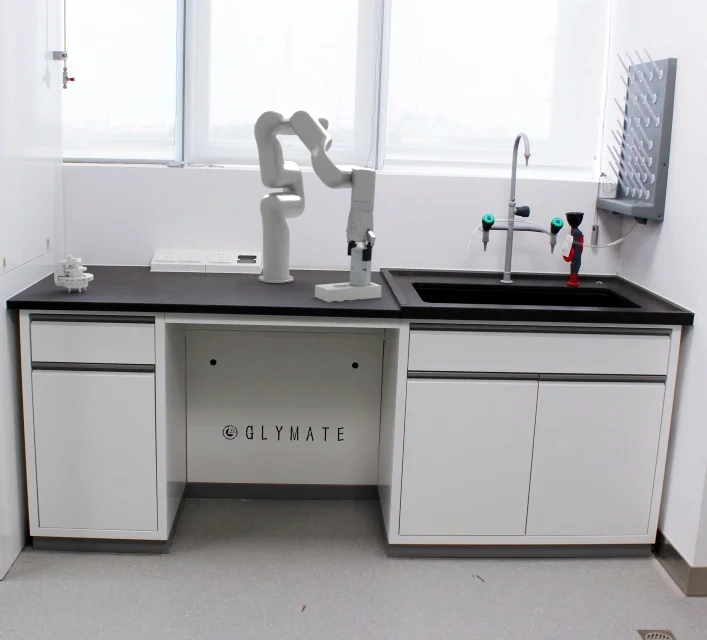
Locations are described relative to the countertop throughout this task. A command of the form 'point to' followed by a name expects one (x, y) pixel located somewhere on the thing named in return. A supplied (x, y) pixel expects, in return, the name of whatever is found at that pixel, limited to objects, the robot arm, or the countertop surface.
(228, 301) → the countertop surface
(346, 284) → the holder
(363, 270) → the skincare box
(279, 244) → the robot arm
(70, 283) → the mechanical part
